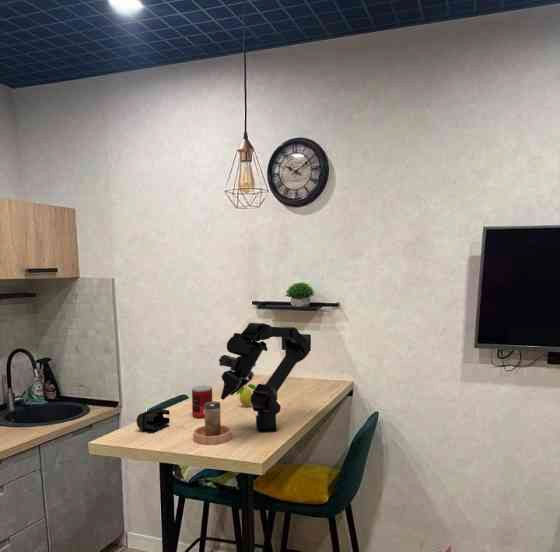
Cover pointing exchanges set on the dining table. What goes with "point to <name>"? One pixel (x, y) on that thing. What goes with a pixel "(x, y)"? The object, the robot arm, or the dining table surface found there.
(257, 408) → the robot arm
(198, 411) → the canned food
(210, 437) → the terracotta dish
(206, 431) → the pepper mill
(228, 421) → the dining table surface
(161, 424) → the end cap
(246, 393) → the lemon
